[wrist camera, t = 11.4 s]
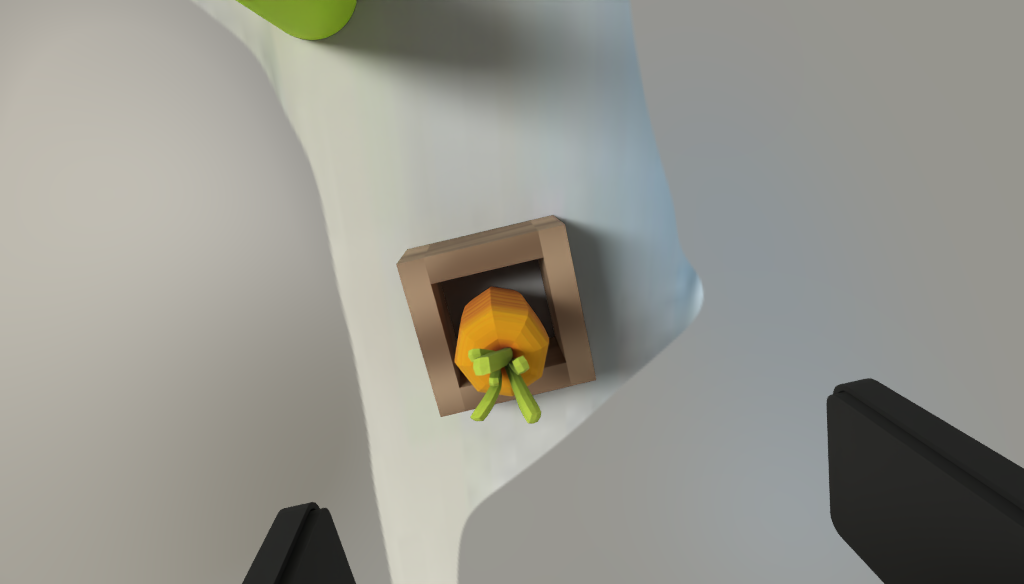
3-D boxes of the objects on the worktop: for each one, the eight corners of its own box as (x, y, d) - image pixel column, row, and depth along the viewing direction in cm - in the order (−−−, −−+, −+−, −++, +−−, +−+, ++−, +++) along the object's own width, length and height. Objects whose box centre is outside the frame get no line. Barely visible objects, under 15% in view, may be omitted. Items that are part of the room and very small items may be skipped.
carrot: (538, 325, 37) (575, 429, 23) (469, 341, 37) (462, 455, 23) (523, 257, 36) (552, 322, 22) (452, 273, 36) (433, 349, 22)
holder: (407, 249, 36) (396, 264, 31) (552, 215, 36) (564, 224, 31) (445, 383, 38) (440, 417, 33) (581, 351, 38) (596, 379, 33)
